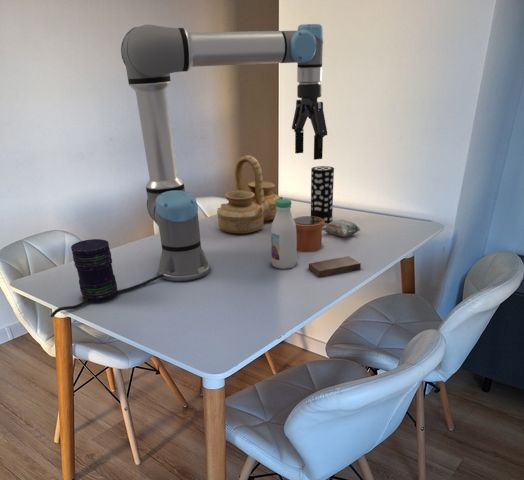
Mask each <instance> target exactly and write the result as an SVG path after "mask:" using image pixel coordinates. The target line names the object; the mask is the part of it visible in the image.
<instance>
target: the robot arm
mask: <svg viewBox="0 0 524 480" xmlns="http://www.w3.org/2000/svg"><path fill="white" fill-rule="evenodd" d="M323 51H324V28H323V26H322V25H321V24H319V23H305V24H304V23H303V24H299V25H298V27H297V30H258V31H257V30H256V31H255V30H254V31H253V30H252V31H247V30H246V31H202V32H200V31H197V32H195V31H194V32H191V31H190V32H189V31H188V30H187V29H186V28H185V27H170V26H169V27H167V26H161V25H155V24H142V25H139V26H135V27H132V28H131V29H130V30H128V31H127V32H126V33H125V35H124V36H123V38H122V41H121V45H120V56H121V59H122V62H123V63H124V66H125V70H126V77H127V81H128V86H129V87H130V88H132V90H134V92H135V96H136V97H135V98H136V103H137V110H138V115H139V121H140V128H141V134H142V140H143V141H142V142H143V147H144V152H145V158H146V165H147V166H146V167H147V171H148V177H149V179H148V181H147V182H146V184H145V190H146V197H147V199H146V209H147V212H148V215H149V216H150V218H151V219H152V221H153V222H154V223H155V224H156V225H157V227H158V230H159V237H160V243H161V244H160V245H161V253H160V254H161V256H160V258H159V264H158V275H156V276H153V277H152V278H149V279H147V280H145V281H143V282H140V283H138V284H134V285H131V286H130V287H126V288H121V289H117V292H118V294H122V293H125V292H129V291H132V290H135V289H137V288H141V287H143V286H146V285H148V284H150V283H152V282H154V281H156V280H158V279H163V280H166V281H169V282H190V281H194V280H198V279H201V278H203V277H205V276H206V275H208V274H209V272H210V265H209V262H208V259H207V257H206V255H205V253H204V250H203V247H202V243H201V231H200V220H199V206H198V202H197V198H196V196H195V195H194V194H193V193H192V192H188V191H186V189H185V182H184V180H183V179H181V178H180V177H179V173H178V166H177V159H176V151H175V144H174V136H173V130H172V129H173V127H172V121H171V115H170V114H171V113H170V106H169V99H168V91H167V89H168V87H169V86H170V84H171V83H172V81H171V74H173V73H182V72H189V71H190V69H192V68H193V67H219V66H238V65H239V66H243V65H264V64H265V65H266V64H267V65H268V64H294V63H295V64H297V65H296V66H297V68H296V71H297V72H296V73H297V76H296V81H297V83H298V84H297V89H296V90H297V92H296V93H297V98H298V99H296V101H295V110H294V115H293V120H292V125H291V129H292V130H293V132H294V151H295V152H294V154H304V138H305V137H304V135H305V134H304V133H305V130H304V127H305V124H306V122H307V120H308V119H309V120H310V124H311V126H312V129H313V132H314V135H313V160H314V161H316V160H323V151H324V137H325V136H328V128H327V123H326V117H325V112H324V102H323V101H318V99H319V98H321V97H322V93H323V91H322V90H323V89H322V88H323V87H322V84H321V82H322V81H323ZM87 302H88V299H86V300H85V301H84V300H83V301H81V302H80V303H78V304H74V305H68V306H61V307H58V308H56V309H55V310H53V311H52V313H51V315H50V318H53V317H55V316H56V315H57V314H58V313H59V312H61V311H69V310H75V309H78V308H81V307H83V306H84V305H87V304H88V303H87Z"/></svg>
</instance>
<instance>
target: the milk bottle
mask: <svg viewBox="0 0 524 480" xmlns="http://www.w3.org/2000/svg"><path fill="white" fill-rule="evenodd" d="M276 209H277V211H276V215H275V218H274V219H272V224H271V227H270V228H271V229H270V230H271V231H270V243H271V244H270V245H271V247H270V249H271V265H272V267H273V268H276V269H281V270H284V269H285V270H287V269H291V268H294V267H296V265H297V250H296V225H295V222H294V217H293V215H292V211H291V209H292V200H291V199H288V198H283V199H279V200H276Z"/></svg>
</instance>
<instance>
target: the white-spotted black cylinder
mask: <svg viewBox="0 0 524 480" xmlns="http://www.w3.org/2000/svg"><path fill="white" fill-rule="evenodd" d="M310 172H311V173H310V174H311V175H310V181H311V182H310V216H314V217H320V218H322V219H324V221H325V222H324V226H326V225H327V224H329V223H331V222H332V221H333V209H334V208H333V207H334V183H335V181H334V178H335V177H334V176H335V167H333V166H328V165H320V166H319V165H318V166H313V167H311V170H310Z"/></svg>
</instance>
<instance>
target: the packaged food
mask: <svg viewBox="0 0 524 480" xmlns="http://www.w3.org/2000/svg"><path fill="white" fill-rule="evenodd" d="M322 231H324V232H325V233H326V234H330V235H333V236H337V237H340V238H342V237H343V238H344V237H349V236H352V235H355V234H357V233H358V232H360V231H361V228H360V227H359V226H358V225H357V224H356V223H354V222H351V221H347V220H344V219H335V220H332V222H331V223H329V224H327V225H324V227H323V228H322Z"/></svg>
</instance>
